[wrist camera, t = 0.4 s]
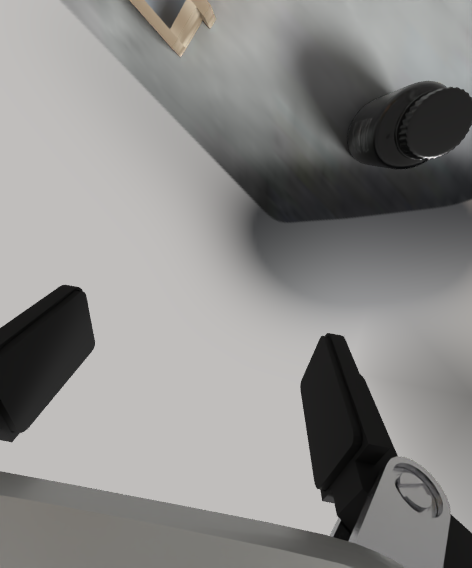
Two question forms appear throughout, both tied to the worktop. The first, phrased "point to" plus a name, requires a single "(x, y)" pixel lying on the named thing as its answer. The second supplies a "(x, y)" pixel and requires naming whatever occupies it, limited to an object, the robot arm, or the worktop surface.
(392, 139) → the supplement bottle
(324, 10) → the worktop surface
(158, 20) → the trap lane
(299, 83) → the worktop surface
